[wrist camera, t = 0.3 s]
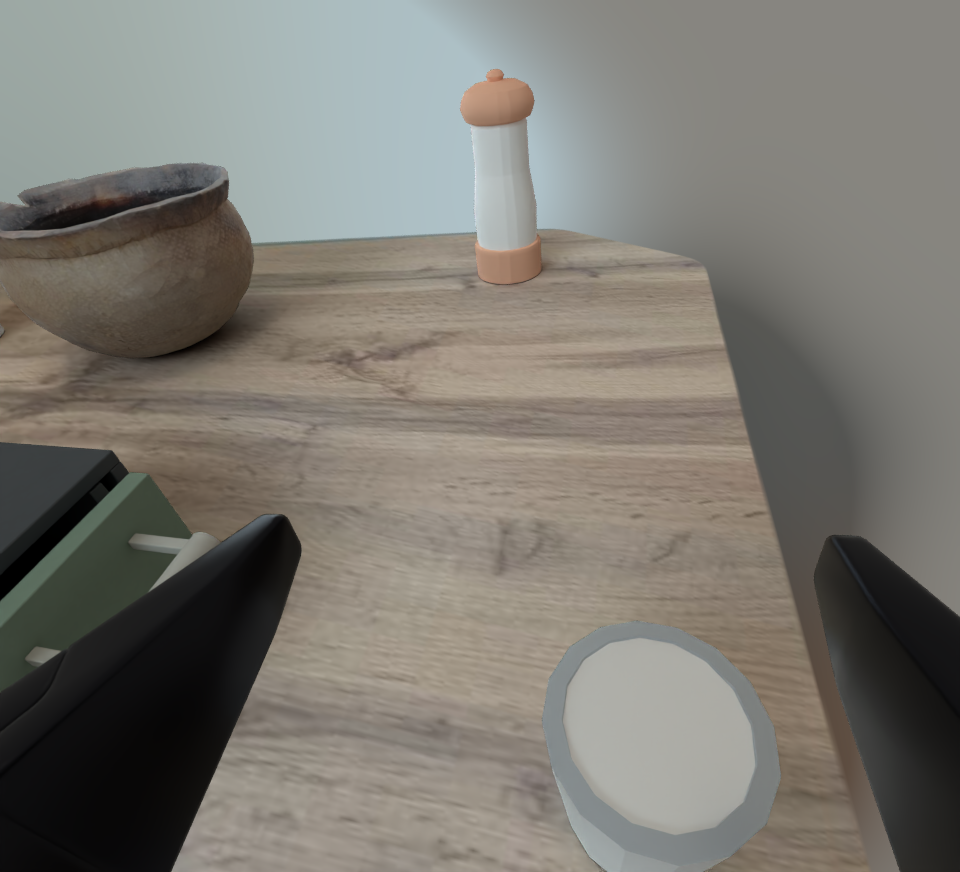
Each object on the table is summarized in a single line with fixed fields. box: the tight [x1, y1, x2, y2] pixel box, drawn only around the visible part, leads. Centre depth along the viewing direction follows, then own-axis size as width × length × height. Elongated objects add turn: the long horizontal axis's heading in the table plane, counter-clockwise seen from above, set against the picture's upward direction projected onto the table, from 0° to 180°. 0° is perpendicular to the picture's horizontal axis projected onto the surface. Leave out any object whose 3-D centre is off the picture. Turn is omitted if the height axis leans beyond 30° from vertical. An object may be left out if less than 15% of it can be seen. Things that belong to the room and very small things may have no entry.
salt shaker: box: [460, 69, 541, 284], centre depth 54 cm, size 7×7×19 cm
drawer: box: [0, 472, 220, 692], centre depth 26 cm, size 17×11×7 cm, turn 78°
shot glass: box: [542, 621, 781, 872], centre depth 18 cm, size 7×7×7 cm
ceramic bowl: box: [0, 163, 254, 358], centre depth 52 cm, size 22×22×15 cm
